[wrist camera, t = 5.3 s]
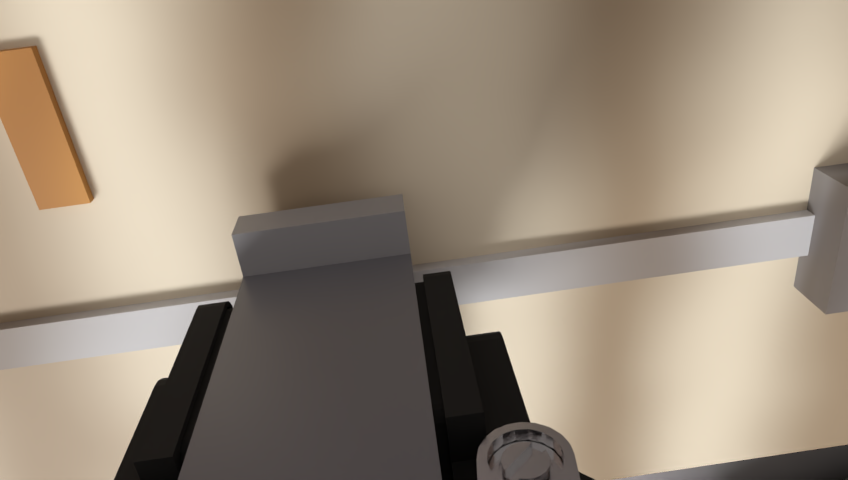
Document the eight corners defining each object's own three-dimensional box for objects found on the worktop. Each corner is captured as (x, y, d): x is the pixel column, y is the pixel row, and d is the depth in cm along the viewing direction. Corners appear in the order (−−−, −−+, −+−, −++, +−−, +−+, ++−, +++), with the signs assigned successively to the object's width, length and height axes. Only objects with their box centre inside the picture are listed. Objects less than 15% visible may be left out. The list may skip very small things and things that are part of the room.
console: (976, -145, 14) (1193, -163, 11) (854, 364, 21) (963, 465, 17) (-425, 36, 14) (-721, 84, 10) (-102, 504, 20) (-208, 641, 16)
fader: (405, 193, 13) (443, 457, 7) (432, 392, 15) (479, 724, 9) (236, 216, 13) (118, 506, 7) (289, 413, 15) (239, 763, 9)
